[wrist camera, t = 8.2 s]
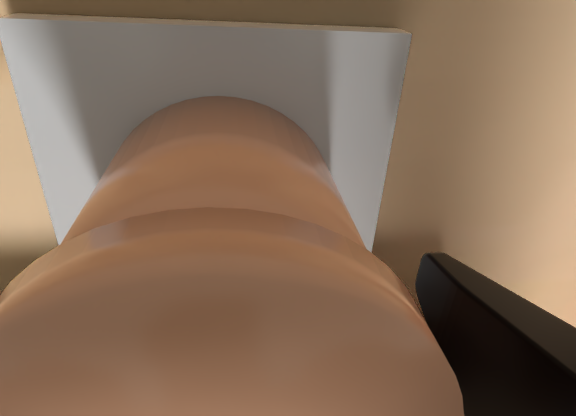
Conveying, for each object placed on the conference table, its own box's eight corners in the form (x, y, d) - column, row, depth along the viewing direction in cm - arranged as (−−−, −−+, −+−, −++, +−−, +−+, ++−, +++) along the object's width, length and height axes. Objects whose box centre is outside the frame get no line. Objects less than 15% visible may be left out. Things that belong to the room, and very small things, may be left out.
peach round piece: (328, 291, 13) (408, 555, 7) (116, 300, 13) (12, 608, 7) (356, 86, 10) (540, 262, 4) (70, 79, 9) (-226, 289, 3)
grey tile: (352, 296, 15) (359, 315, 14) (91, 308, 14) (82, 330, 13) (397, 27, 10) (412, 33, 10) (16, 13, 9) (-6, 17, 8)
